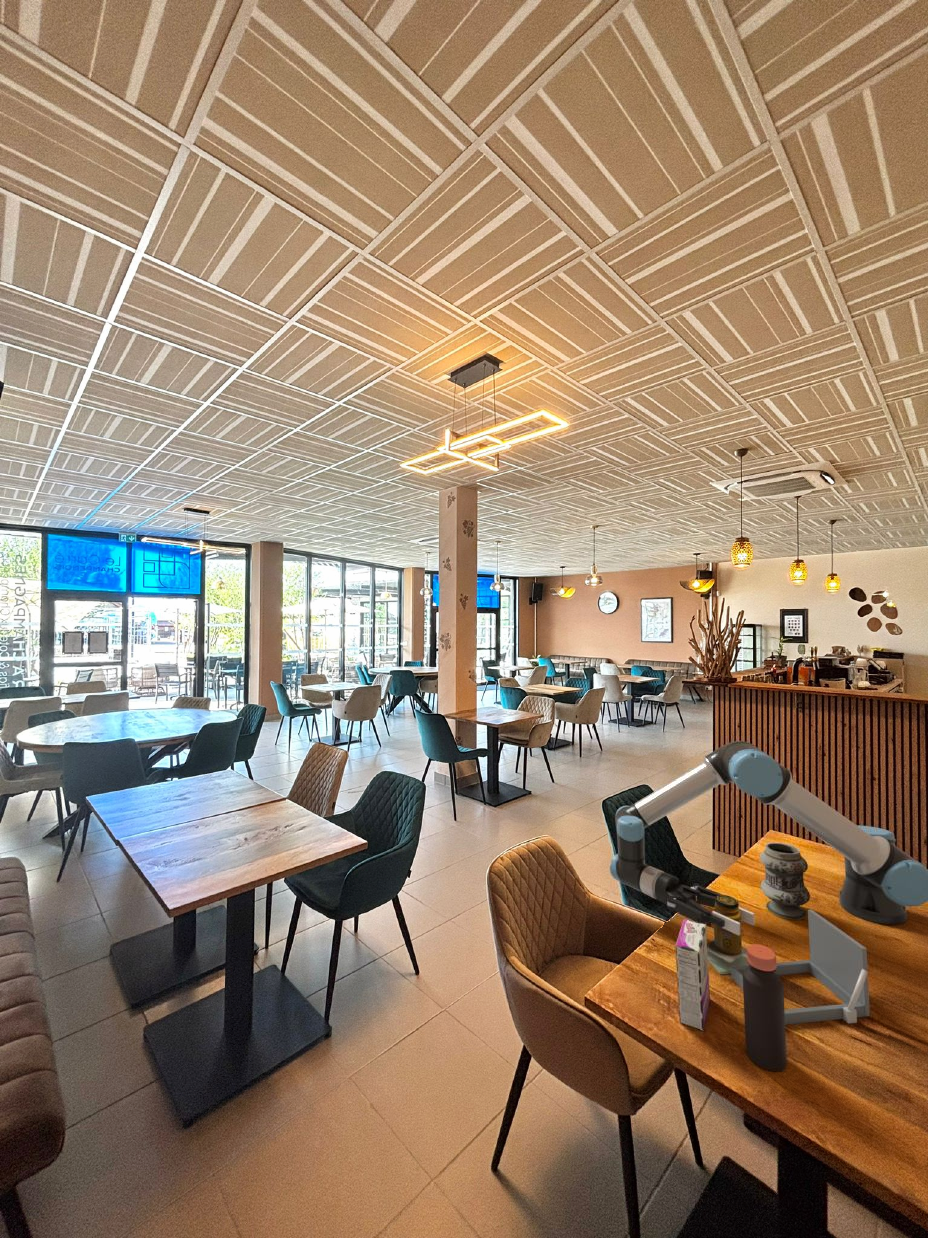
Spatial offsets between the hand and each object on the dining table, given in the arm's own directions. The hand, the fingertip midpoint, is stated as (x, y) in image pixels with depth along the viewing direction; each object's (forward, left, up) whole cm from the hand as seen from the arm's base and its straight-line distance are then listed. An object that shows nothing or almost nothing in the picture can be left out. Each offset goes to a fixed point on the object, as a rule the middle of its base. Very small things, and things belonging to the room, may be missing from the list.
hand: (746, 924), depth 122 cm
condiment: (+3, -4, -8) cm, 10 cm away
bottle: (+12, +24, -11) cm, 29 cm away
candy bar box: (+19, +11, -11) cm, 25 cm away
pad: (+2, -4, -11) cm, 12 cm away
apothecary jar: (-27, -22, -11) cm, 36 cm away
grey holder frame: (-5, +9, -11) cm, 15 cm away
